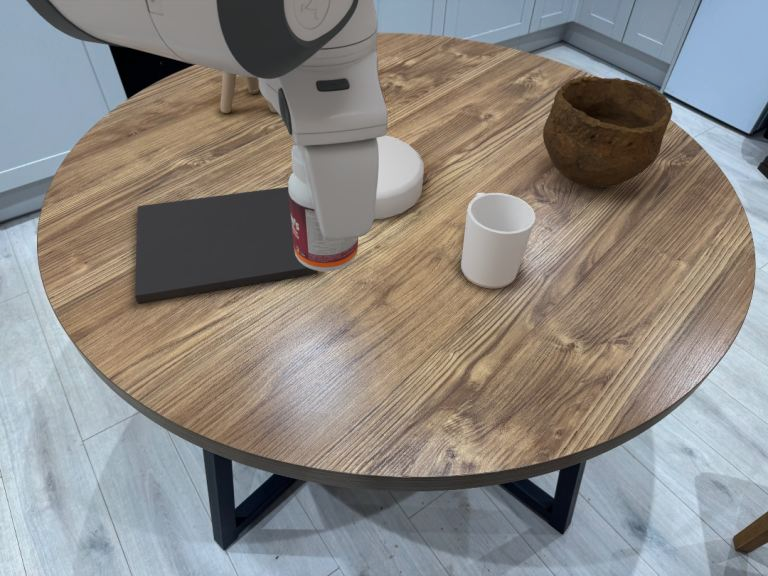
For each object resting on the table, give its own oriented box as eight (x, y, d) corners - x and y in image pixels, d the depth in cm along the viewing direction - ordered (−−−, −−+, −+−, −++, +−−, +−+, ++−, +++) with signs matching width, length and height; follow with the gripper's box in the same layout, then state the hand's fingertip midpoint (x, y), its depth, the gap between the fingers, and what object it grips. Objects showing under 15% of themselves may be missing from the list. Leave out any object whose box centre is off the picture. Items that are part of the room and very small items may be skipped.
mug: (531, 283, 81) (548, 226, 73) (475, 297, 78) (487, 239, 71) (494, 236, 88) (506, 180, 81) (441, 248, 85) (449, 191, 78)
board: (137, 303, 75) (134, 295, 74) (139, 213, 89) (137, 205, 87) (317, 274, 80) (316, 266, 79) (293, 193, 94) (292, 185, 93)
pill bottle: (293, 234, 57) (283, 132, 49) (354, 230, 58) (354, 129, 50) (296, 276, 53) (285, 172, 45) (362, 271, 54) (362, 168, 46)
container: (433, 164, 102) (436, 140, 99) (406, 231, 88) (408, 206, 85) (327, 144, 105) (327, 121, 102) (286, 206, 91) (283, 181, 88)
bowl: (556, 213, 93) (582, 130, 82) (519, 152, 106) (538, 74, 95) (662, 206, 95) (701, 125, 85) (614, 147, 108) (642, 71, 98)
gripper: (257, 17, 49) (274, 157, 58) (297, 138, 35) (309, 296, 44) (330, 12, 50) (334, 150, 60) (396, 127, 36) (387, 283, 46)
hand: (324, 214), depth 52 cm, fingers closed on pill bottle, 6 cm apart
